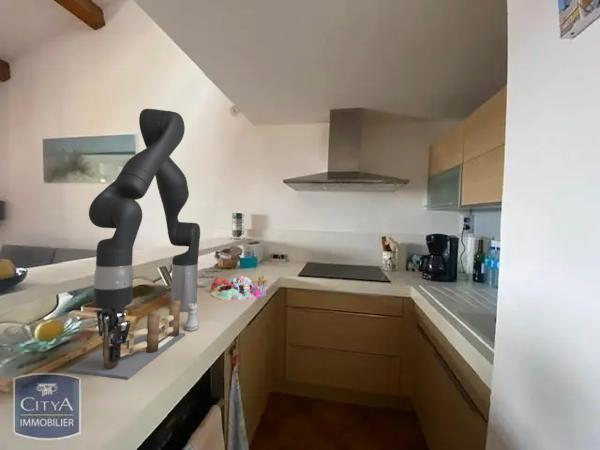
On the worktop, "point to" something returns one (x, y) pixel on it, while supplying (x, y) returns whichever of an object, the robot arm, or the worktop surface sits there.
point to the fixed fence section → (154, 326)
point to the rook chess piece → (192, 318)
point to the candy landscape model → (239, 288)
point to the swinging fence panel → (125, 351)
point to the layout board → (124, 359)
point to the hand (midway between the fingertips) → (111, 358)
